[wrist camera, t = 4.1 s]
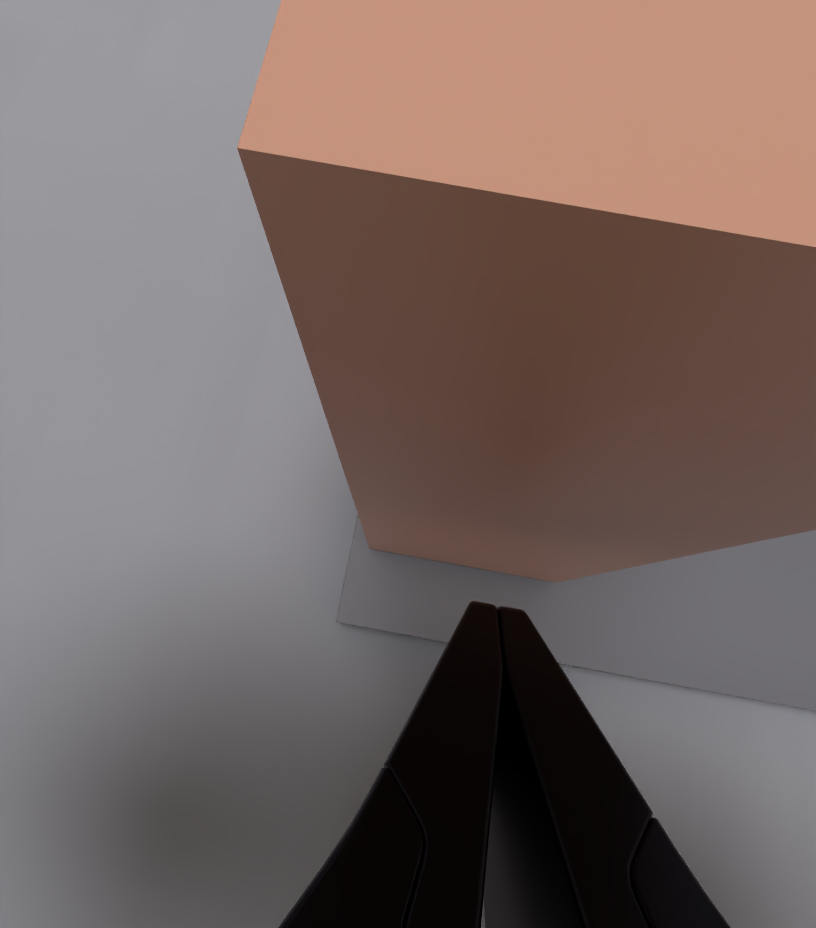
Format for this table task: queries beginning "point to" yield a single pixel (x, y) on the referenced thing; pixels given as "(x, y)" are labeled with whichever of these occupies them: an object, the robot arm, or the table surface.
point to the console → (626, 613)
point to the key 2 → (551, 269)
